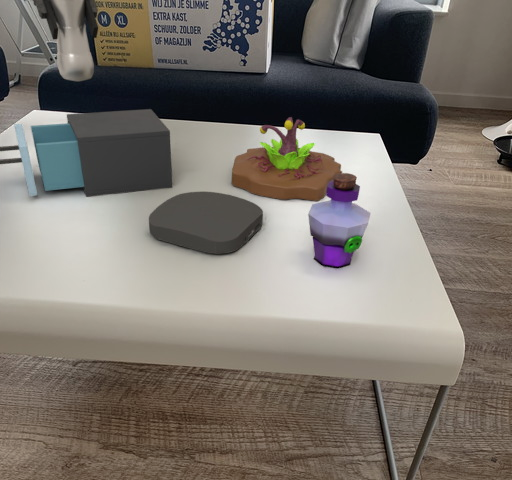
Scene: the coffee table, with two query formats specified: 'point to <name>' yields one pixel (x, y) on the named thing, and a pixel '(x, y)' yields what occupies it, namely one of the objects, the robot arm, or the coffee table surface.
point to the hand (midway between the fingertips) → (75, 33)
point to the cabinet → (122, 151)
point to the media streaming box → (206, 221)
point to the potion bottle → (338, 223)
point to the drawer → (49, 157)
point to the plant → (285, 168)
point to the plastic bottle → (72, 40)
